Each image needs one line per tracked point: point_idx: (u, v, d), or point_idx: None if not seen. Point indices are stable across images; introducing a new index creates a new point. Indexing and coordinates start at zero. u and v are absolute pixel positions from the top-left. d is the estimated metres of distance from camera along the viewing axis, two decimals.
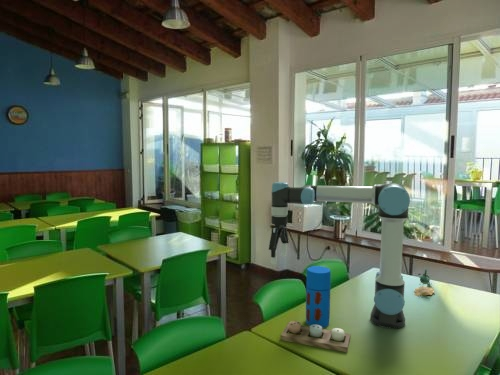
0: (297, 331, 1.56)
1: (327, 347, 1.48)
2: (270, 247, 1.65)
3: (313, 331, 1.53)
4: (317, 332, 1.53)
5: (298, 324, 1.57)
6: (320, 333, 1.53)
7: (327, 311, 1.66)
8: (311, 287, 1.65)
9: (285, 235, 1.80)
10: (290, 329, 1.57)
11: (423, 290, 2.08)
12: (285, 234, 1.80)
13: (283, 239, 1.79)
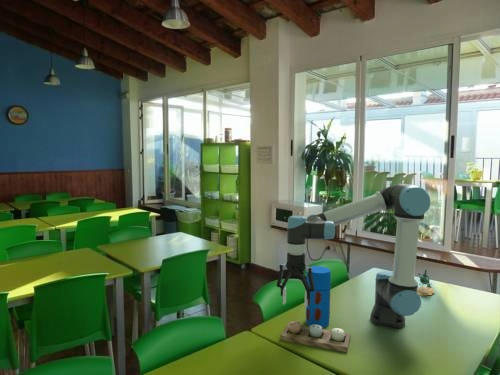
0: (297, 331, 1.56)
1: (327, 347, 1.48)
2: None
3: (313, 331, 1.53)
4: (317, 332, 1.53)
5: (298, 324, 1.57)
6: (320, 333, 1.53)
7: (327, 311, 1.66)
8: None
9: (309, 282, 1.54)
10: (290, 329, 1.57)
11: (423, 290, 2.08)
12: None
13: None
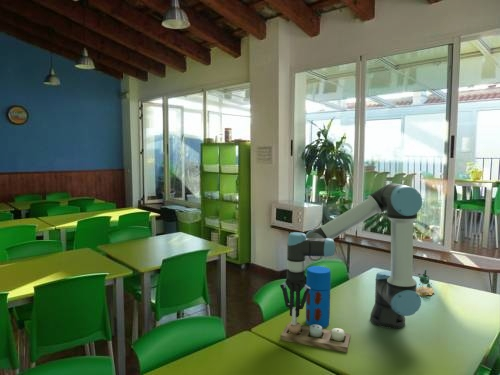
0: (297, 332, 1.56)
1: (327, 347, 1.48)
2: None
3: (313, 331, 1.53)
4: (317, 332, 1.53)
5: (298, 325, 1.57)
6: (320, 333, 1.53)
7: (327, 311, 1.66)
8: (311, 287, 1.65)
9: (302, 300, 1.56)
10: (290, 330, 1.57)
11: (423, 290, 2.08)
12: (302, 299, 1.55)
13: None
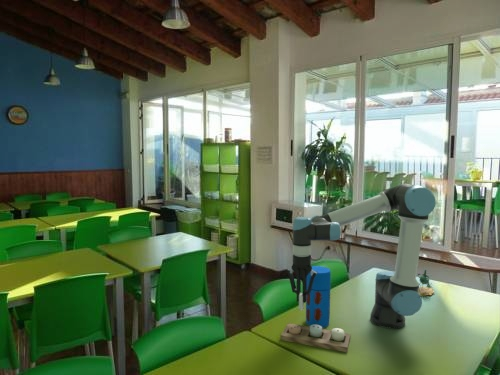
0: None
1: (327, 347, 1.48)
2: None
3: (313, 331, 1.53)
4: (317, 332, 1.53)
5: (298, 328, 1.58)
6: (320, 333, 1.53)
7: (327, 311, 1.66)
8: None
9: None
10: (290, 333, 1.57)
11: (423, 290, 2.08)
12: (309, 284, 1.54)
13: None
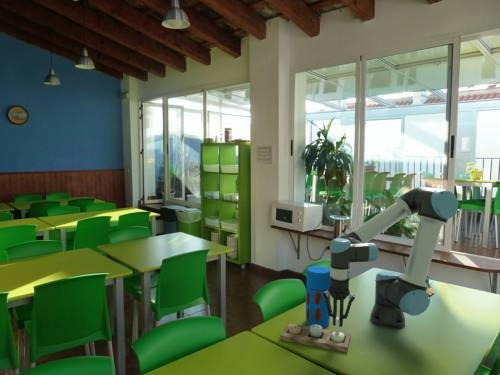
0: None
1: (327, 347, 1.48)
2: None
3: (313, 331, 1.53)
4: (317, 332, 1.53)
5: (298, 328, 1.58)
6: (320, 333, 1.53)
7: (327, 311, 1.66)
8: (311, 287, 1.65)
9: (346, 309, 1.49)
10: (290, 333, 1.57)
11: None
12: None
13: None
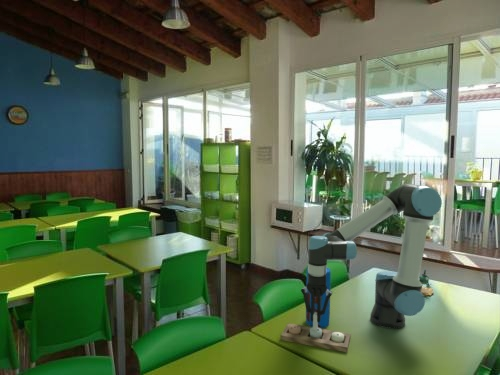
0: None
1: (327, 347, 1.48)
2: None
3: (313, 333, 1.53)
4: (317, 335, 1.53)
5: (298, 328, 1.58)
6: (320, 336, 1.53)
7: (327, 311, 1.66)
8: None
9: None
10: (290, 333, 1.57)
11: (422, 290, 2.08)
12: (324, 303, 1.52)
13: None
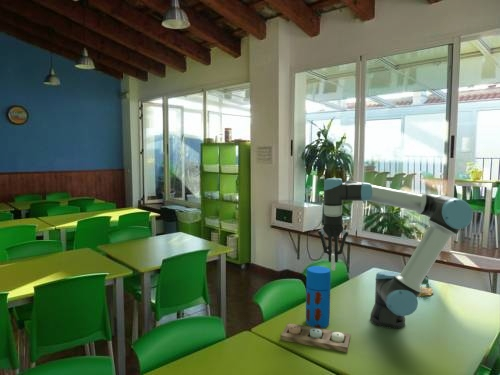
0: None
1: (327, 347, 1.48)
2: None
3: (313, 335, 1.53)
4: (317, 336, 1.53)
5: (298, 328, 1.58)
6: (320, 337, 1.54)
7: (327, 311, 1.66)
8: (311, 287, 1.65)
9: None
10: (290, 333, 1.57)
11: (422, 290, 2.08)
12: (341, 243, 1.56)
13: None
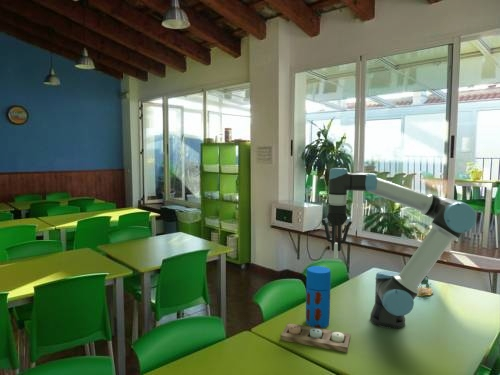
0: None
1: (327, 347, 1.48)
2: None
3: (313, 335, 1.53)
4: (317, 336, 1.53)
5: (298, 328, 1.58)
6: (320, 337, 1.54)
7: (327, 311, 1.66)
8: (311, 287, 1.65)
9: (344, 234, 1.58)
10: (290, 333, 1.57)
11: (422, 290, 2.08)
12: None
13: (338, 236, 1.59)
